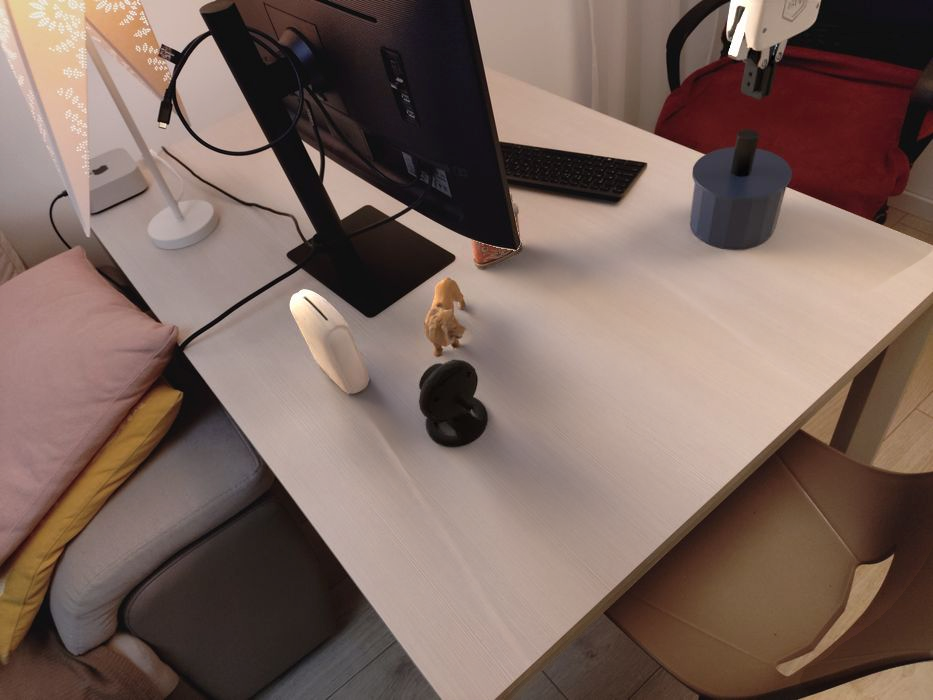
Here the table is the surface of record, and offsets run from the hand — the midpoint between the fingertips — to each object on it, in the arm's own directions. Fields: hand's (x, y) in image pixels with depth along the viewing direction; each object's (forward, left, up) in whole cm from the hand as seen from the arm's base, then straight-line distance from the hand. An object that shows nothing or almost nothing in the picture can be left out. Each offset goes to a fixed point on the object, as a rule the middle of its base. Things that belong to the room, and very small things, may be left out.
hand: (755, 93), depth 78 cm
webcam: (-6, +51, -20) cm, 55 cm away
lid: (0, 0, -11) cm, 11 cm away
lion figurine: (+7, +44, -20) cm, 49 cm away
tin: (0, 0, -20) cm, 20 cm away
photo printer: (+11, +59, -20) cm, 63 cm away
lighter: (+17, +30, -20) cm, 40 cm away
